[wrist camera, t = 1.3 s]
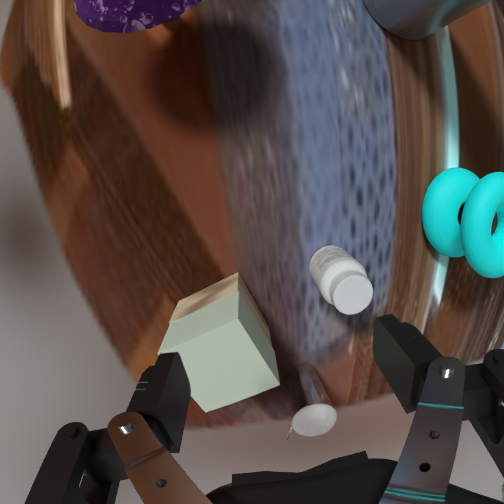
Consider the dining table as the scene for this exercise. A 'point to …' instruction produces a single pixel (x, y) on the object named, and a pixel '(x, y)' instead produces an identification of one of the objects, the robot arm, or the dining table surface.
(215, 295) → the oak base block
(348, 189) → the dining table surface
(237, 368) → the sage top block
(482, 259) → the donuts
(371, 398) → the dining table surface
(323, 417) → the milkshake
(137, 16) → the decorative mushroom
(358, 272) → the pill bottle
